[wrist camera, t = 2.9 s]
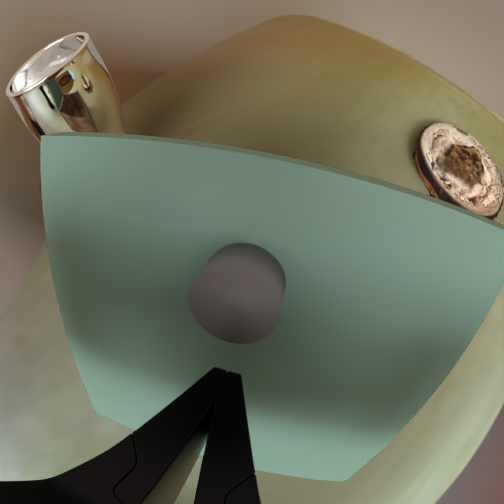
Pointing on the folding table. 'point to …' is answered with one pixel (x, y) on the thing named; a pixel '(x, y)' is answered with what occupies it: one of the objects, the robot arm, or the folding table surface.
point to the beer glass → (66, 90)
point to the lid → (261, 289)
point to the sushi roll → (459, 170)
